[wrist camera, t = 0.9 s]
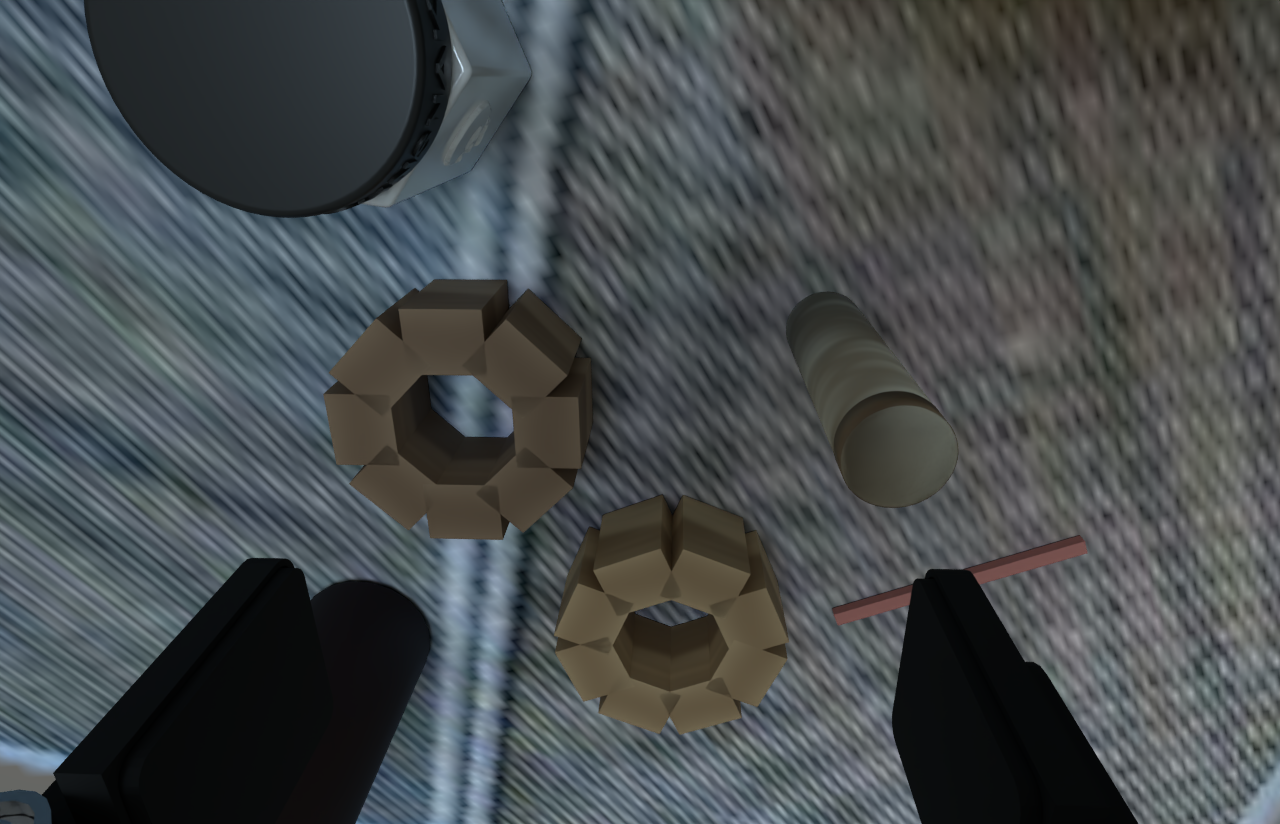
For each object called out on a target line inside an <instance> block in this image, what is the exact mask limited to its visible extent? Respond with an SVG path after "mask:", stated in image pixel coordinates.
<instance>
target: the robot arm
mask: <svg viewBox="0 0 1280 824" xmlns="http://www.w3.org/2000/svg"><path fill="white" fill-rule="evenodd" d="M332 713H333V696H332V692H331V687H330V683H329V679H328V674H327V670H326V666H325V662H324V657H323V653H322V649H321V644H320V640H319V636H318V632H317V627H316V623H315V619H314V615H313V610H312V606H311V602H310V597H309V593H308V589H307V585H306V580H305V576H304V574H303V572H302V570H301V569H298V568H294V566H293V564H292V562H291V561H290V560H288V559H281V558H250V559H247V560H246V561H245V562H243V563H242V564H241V566H240V567H239V568H238V569H237V570H236V571H235V572H234V573H233V574H232V576H231V577H230V578H229V579H228V580H227V581H226V582H225V583H224V584H223V586H222V587H221V588H220V589H219V590H218V591H217V592H216V593H215V594H214V595H213V597H212V598H211V599H210V600H209V601H208V602H207V603H206V604H205V605H204V607H203V608H202V609H201V610H200V611H199V612H198V613H197V614H196V615H195V617H194V618H193V619H192V620H191V621H190V622H189V623H188V624H187V625H186V627H185V628H184V629H183V630H182V631H181V632H180V633H179V634H178V635H177V636H176V638H175V639H174V640H173V641H172V642H171V643H170V644H169V645H168V646H167V648H166V649H165V650H164V651H163V652H162V653H161V654H160V655H159V656H158V658H157V659H156V660H155V661H154V662H153V663H152V664H151V665H150V666H149V667H148V669H147V670H146V671H145V672H144V673H143V674H142V675H141V676H140V677H139V679H138V680H137V681H136V682H135V683H134V684H133V685H132V686H131V687H130V689H129V690H128V691H127V692H126V693H125V694H124V695H123V696H122V697H121V699H120V700H119V701H118V702H117V703H116V704H115V705H114V706H113V707H112V708H111V710H110V711H109V712H108V713H107V714H106V715H105V716H104V717H103V718H102V720H101V721H100V722H99V723H98V724H97V725H96V726H95V727H94V728H93V730H92V731H91V732H90V733H89V734H88V735H87V736H86V737H85V738H84V740H83V741H82V742H81V743H80V744H79V745H78V746H77V747H76V748H75V749H74V751H73V752H72V753H71V754H70V755H69V756H68V757H67V758H66V759H65V761H64V762H63V763H62V764H61V765H60V766H59V767H58V768H57V769H56V771H55V772H54V773H53V774H54V776H55V778H56V780H55V781H54V782H53V783H52V784H51V786H49V788H48V789H47V790H46V791H45V792H44V793H43V794H42V795H40V794H39V793H37V792H35V791H26V790H14V791H7V792H0V824H275V823H276V821H277V819H278V817H279V816H280V814H281V812H282V810H283V808H284V806H285V804H286V803H287V801H288V799H289V797H290V795H291V793H292V792H293V790H294V788H295V786H296V784H297V782H298V781H299V779H300V777H301V775H302V773H303V771H304V770H305V768H306V766H307V764H308V762H309V760H310V759H311V757H312V755H313V753H314V751H315V749H316V747H317V746H318V744H319V742H320V740H321V738H322V736H323V735H324V733H325V731H326V729H327V727H328V725H329V723H330V721H331V717H332ZM892 727H893V734H894V739H895V742H896V746H897V749H898V752H899V755H900V758H901V761H902V764H903V767H904V770H905V773H906V777H907V780H908V783H909V786H910V789H911V792H912V795H913V798H914V801H915V804H916V807H917V811H918V814H919V817H920V820H921V823H922V824H1138V822H1137V821H1136V819H1135V817H1134V816H1133V814H1132V812H1131V811H1130V809H1129V808H1128V806H1127V804H1126V803H1125V801H1124V799H1123V798H1122V796H1121V795H1120V793H1119V791H1118V790H1117V788H1116V786H1115V785H1114V783H1113V782H1112V780H1111V778H1110V777H1109V775H1108V773H1107V772H1106V770H1105V768H1104V767H1103V765H1102V764H1101V762H1100V760H1099V759H1098V757H1097V755H1096V754H1095V752H1094V751H1093V749H1092V747H1091V746H1090V744H1089V742H1088V741H1087V739H1086V737H1085V736H1084V734H1083V733H1082V731H1081V729H1080V728H1079V726H1078V724H1077V723H1076V721H1075V720H1074V718H1073V716H1072V715H1071V713H1070V711H1069V710H1068V708H1067V707H1066V705H1065V703H1064V702H1063V700H1062V698H1061V697H1060V695H1059V693H1058V692H1057V690H1056V689H1055V687H1054V685H1053V684H1052V682H1051V680H1050V679H1049V677H1048V676H1047V674H1046V673H1045V672H1044V670H1043V669H1042V668H1041V666H1039V665H1038V664H1036V663H1034V662H1025V661H1024V660H1023V658H1022V656H1021V655H1020V653H1019V651H1018V649H1017V648H1016V646H1015V644H1014V643H1013V641H1012V639H1011V638H1010V636H1009V634H1008V632H1007V631H1006V629H1005V627H1004V626H1003V624H1002V622H1001V621H1000V619H999V617H998V615H997V614H996V612H995V610H994V609H993V607H992V605H991V604H990V602H989V600H988V598H987V597H986V595H985V593H984V592H983V590H982V588H981V587H980V585H979V583H978V581H977V580H976V578H975V576H974V575H973V574H972V572H971V571H969V570H951V569H930V570H928V571H927V573H926V575H925V579H915V581H914V582H913V586H912V592H911V598H910V605H909V611H908V617H907V624H906V630H905V636H904V643H903V649H902V655H901V662H900V668H899V674H898V681H897V687H896V693H895V700H894V706H893V712H892Z"/></svg>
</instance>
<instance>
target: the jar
mask: <svg viewBox="0 0 1280 824" xmlns="http://www.w3.org/2000/svg"><path fill="white" fill-rule="evenodd" d="M84 8H85V17H86V23H87V29H88V34H89V38H90V42H91V46H92V50H93V54H94V56H95V59H96V62H97V65H98V68H99V71H100V73H101V75H102V78H103V80H104V83H105V85H106V87H107V89H108V91H109V93H110V95H111V97H112V99H113V101H114V103H115V104H116V106H117V107H118V109H119V111H120V112H121V114H122V116H123V117H124V119H125V120H126V122H127V123H128V124H129V126H130V127H131V129H132V130H133V131H134V133H135V134H136V135H137V137H138V138H139V139H140V140H141V141H142V142H143V144H144V145H145V146H146V147H147V148H148V149H149V150H150V151H151V152H152V154H153V155H154V156H155V157H156V158H157V159H158V160H159V161H160V162H161V163H163V164H164V165H165V166H166V167H167V168H168V169H169V170H171V171H172V172H173V173H174V174H175V175H177V176H178V177H179V178H181V179H182V180H183V181H185V182H186V183H187V184H189V185H190V186H192V187H194V188H195V189H197V190H198V191H200V192H202V193H203V194H205V195H207V196H209V197H211V198H213V199H215V200H217V201H219V202H221V203H224V204H226V205H228V206H231V207H233V208H237V209H240V210H243V211H246V212H250V213H254V214H259V215H264V216H272V217H283V218H297V217H309V216H315V215H320V214H331V213H336V212H339V211H343V210H346V209H349V208H352V207H354V206H357V205H359V204H365V205H372V206H379V207H391V206H393V205H395V204H397V203H400V202H402V201H404V200H406V199H409V198H411V197H413V196H416V195H418V194H420V193H422V192H425V191H427V190H429V189H431V188H434V187H436V186H438V185H441V184H443V183H445V182H447V181H450V180H452V179H454V178H456V177H459V176H461V175H463V174H466V173H468V172H470V171H471V170H472V168H473V167H474V165H475V163H476V162H477V160H478V159H479V157H480V156H481V154H482V152H483V151H484V149H485V148H486V146H487V145H488V143H489V141H490V140H491V138H492V137H493V135H494V134H495V132H496V130H497V129H498V127H499V126H500V124H501V123H502V121H503V119H504V118H505V116H506V115H507V113H508V112H509V110H510V109H511V107H512V105H513V104H514V102H515V101H516V99H517V98H518V96H519V94H520V93H521V91H522V90H523V88H524V87H525V85H526V84H527V82H528V80H529V79H530V77H531V69H530V66H529V64H528V62H527V59H526V57H525V55H524V53H523V50H522V48H521V46H520V43H519V41H518V39H517V36H516V34H515V32H514V30H513V27H512V25H511V23H510V20H509V18H508V16H507V13H506V11H505V9H504V6H503V4H502V2H501V0H84Z"/></svg>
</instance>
